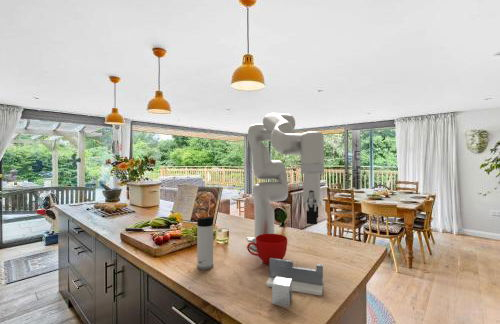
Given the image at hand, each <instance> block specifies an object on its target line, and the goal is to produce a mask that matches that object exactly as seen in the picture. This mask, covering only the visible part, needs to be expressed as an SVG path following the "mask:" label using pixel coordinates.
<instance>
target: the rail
mask: <svg viewBox="0 0 500 324" xmlns="http://www.w3.org/2000/svg"><path fill="white" fill-rule="evenodd" d="M276 276H277V277H284V278H290V279H292V281H295V282H301V283H308V284H314V285H320V286H323V287H324V282H323V278H324V264H319V263H316V269H313V268H306V267H299V266H294V261H293V260H291V259H284V258H283V259H276V258H270V265H269V278H275V277H276Z"/></svg>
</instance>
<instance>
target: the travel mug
mask: <svg viewBox="0 0 500 324" xmlns="http://www.w3.org/2000/svg"><path fill="white" fill-rule="evenodd" d="M196 226H197V227H196V228H197V229H196V234H197V235H196V236H197V237H196V238H197V239H196V241H197V242H196V243H197V245H196V251H197V252H196V254H197V255H196V256H197V257H196V264H197V265H196V266H197V267H196V268H197V269H198V270H201V271H202V270H204V271H206V270H210V269H212V268H213V267H214V217H213V216H205V217H198V218H197V224H196Z"/></svg>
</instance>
